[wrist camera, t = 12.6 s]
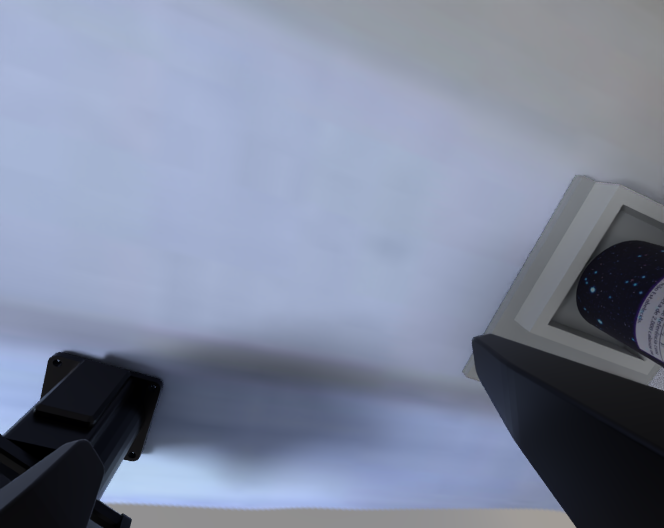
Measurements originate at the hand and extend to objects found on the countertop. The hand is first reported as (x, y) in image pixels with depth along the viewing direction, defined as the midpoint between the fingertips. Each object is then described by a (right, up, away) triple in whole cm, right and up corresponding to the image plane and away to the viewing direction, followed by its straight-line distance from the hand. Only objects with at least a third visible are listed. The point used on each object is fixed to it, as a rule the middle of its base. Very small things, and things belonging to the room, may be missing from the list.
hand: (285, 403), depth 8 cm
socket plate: (+19, 0, +15) cm, 24 cm away
